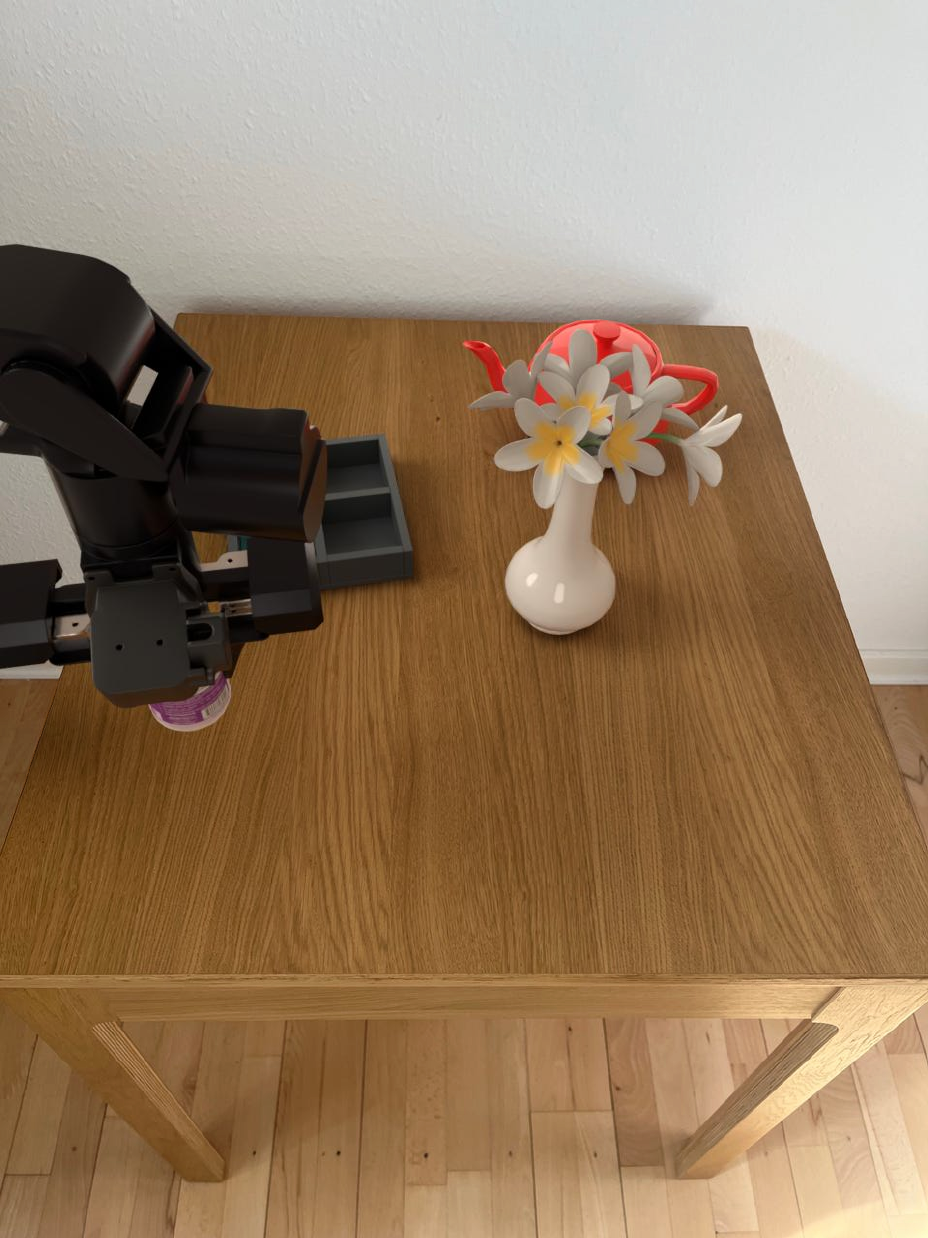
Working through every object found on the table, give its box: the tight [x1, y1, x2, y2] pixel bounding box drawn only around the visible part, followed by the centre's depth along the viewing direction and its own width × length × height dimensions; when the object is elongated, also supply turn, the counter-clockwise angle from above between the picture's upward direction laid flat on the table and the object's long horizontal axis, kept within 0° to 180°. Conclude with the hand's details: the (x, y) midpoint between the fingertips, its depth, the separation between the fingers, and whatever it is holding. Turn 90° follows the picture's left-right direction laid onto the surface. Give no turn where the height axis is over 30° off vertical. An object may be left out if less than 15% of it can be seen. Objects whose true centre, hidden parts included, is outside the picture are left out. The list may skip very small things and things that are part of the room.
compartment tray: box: [226, 433, 414, 591], centre depth 85 cm, size 15×15×4 cm
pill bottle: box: [148, 671, 232, 733], centre depth 59 cm, size 5×5×10 cm
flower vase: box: [467, 329, 743, 636], centre depth 72 cm, size 13×18×25 cm
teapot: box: [461, 319, 720, 448], centre depth 92 cm, size 25×16×12 cm, turn 86°
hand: (184, 678), depth 61 cm, fingers closed on pill bottle, 5 cm apart
